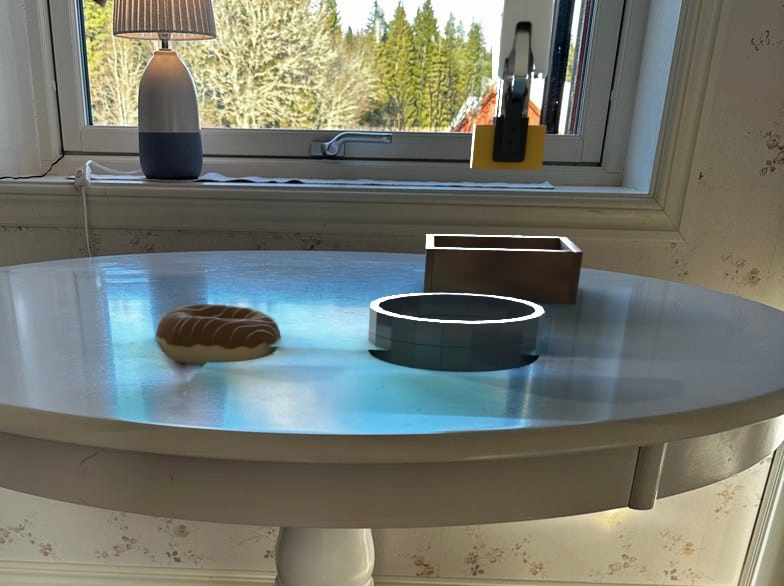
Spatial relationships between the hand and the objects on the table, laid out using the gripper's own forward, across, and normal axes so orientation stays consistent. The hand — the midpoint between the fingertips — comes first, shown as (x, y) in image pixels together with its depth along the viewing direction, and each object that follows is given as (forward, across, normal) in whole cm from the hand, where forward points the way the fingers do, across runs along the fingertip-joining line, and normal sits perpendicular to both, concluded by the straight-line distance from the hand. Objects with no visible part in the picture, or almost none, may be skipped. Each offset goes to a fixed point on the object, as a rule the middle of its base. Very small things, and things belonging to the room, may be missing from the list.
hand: (506, 158), depth 98 cm
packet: (+1, 0, 0) cm, 1 cm away
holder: (+15, 0, 0) cm, 15 cm away
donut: (+15, -29, +25) cm, 41 cm away
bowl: (+15, -27, +5) cm, 31 cm away
